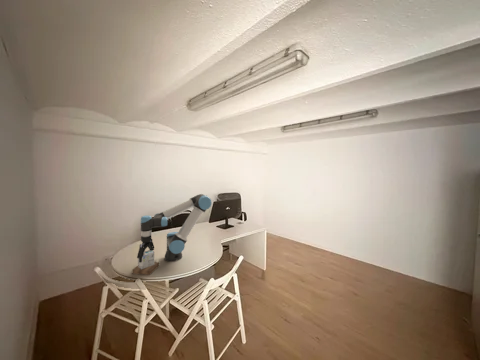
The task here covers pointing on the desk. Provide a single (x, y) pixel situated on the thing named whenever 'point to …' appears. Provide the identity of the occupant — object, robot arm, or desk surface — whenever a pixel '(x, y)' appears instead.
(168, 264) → the desk surface
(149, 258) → the light bulb box
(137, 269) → the block
